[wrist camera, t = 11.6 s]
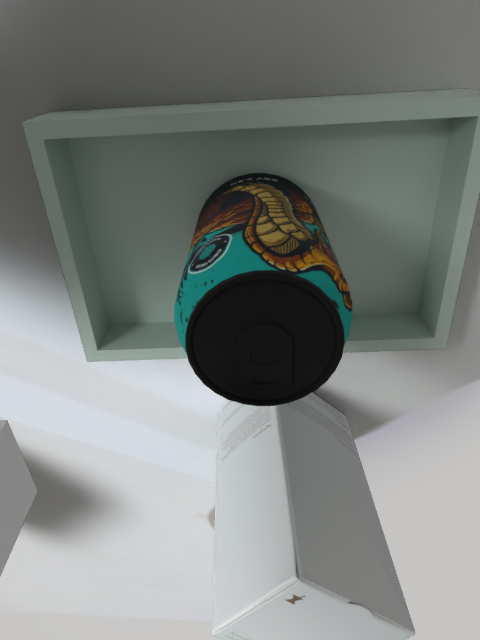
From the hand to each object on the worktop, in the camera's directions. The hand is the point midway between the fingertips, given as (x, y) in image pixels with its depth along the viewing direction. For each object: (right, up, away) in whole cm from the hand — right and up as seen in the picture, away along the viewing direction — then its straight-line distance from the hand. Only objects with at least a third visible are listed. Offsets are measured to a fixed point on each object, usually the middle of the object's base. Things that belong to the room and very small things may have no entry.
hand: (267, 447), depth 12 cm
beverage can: (0, +9, +15) cm, 17 cm away
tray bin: (0, +9, +15) cm, 18 cm away
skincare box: (+3, -4, +23) cm, 24 cm away
